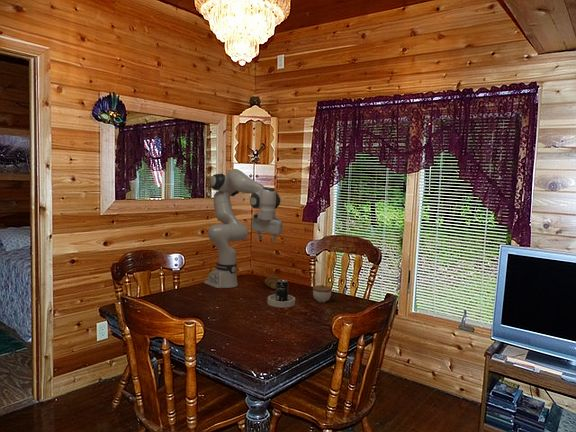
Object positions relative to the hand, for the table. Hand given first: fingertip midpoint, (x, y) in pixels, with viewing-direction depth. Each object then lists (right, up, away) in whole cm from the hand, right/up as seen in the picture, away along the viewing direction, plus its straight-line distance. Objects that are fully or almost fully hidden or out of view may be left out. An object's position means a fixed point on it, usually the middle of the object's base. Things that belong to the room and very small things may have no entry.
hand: (266, 240), depth 237 cm
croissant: (+2, -31, +32) cm, 45 cm away
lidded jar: (+32, -35, +3) cm, 47 cm away
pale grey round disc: (+9, -35, -5) cm, 36 cm away
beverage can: (+9, -34, -6) cm, 35 cm away
